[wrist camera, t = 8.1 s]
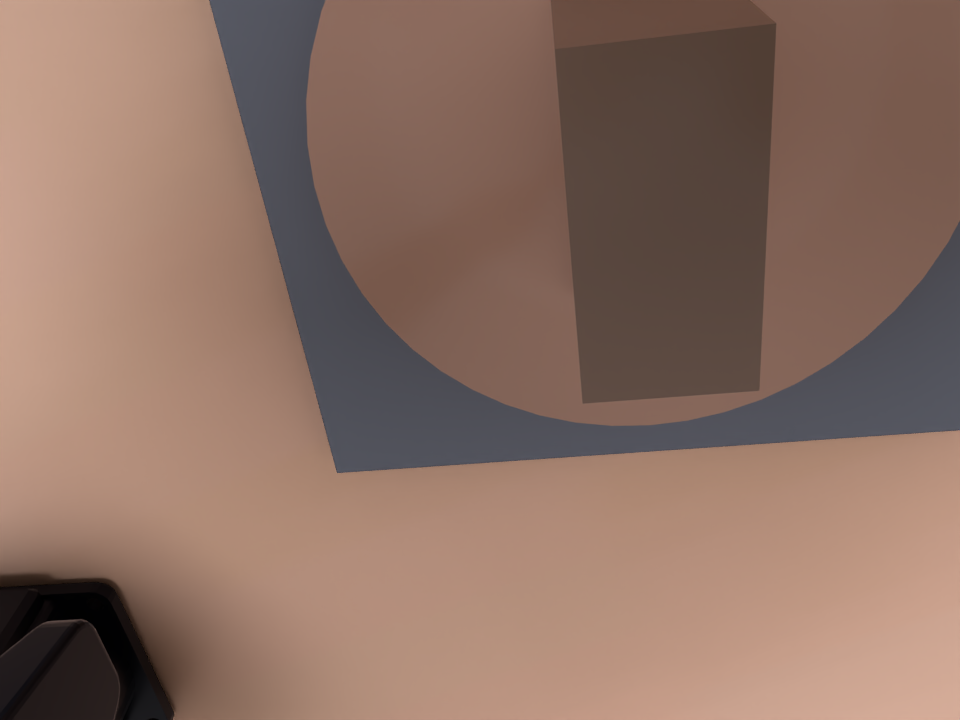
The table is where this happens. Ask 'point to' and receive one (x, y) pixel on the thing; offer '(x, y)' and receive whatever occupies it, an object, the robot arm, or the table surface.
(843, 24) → the lid
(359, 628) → the table surface
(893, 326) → the mat
